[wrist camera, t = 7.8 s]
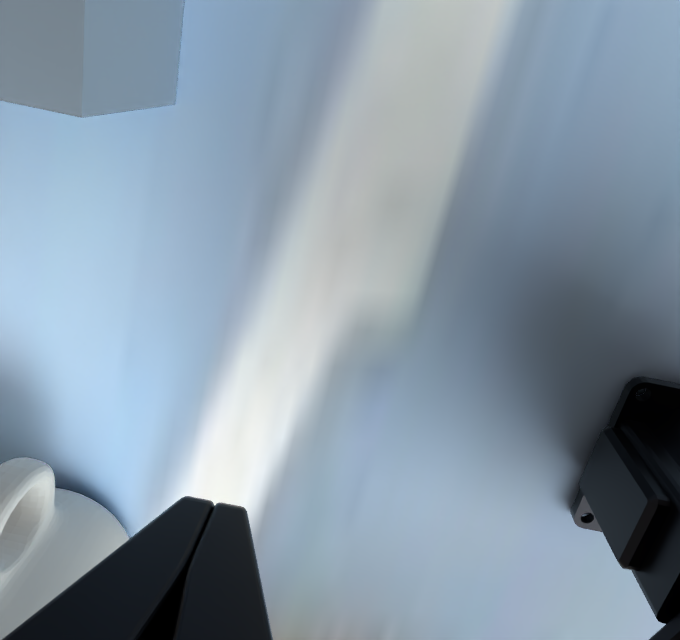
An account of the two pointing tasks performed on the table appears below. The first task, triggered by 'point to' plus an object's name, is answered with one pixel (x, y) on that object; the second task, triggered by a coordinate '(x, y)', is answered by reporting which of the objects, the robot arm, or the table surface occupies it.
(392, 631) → the table surface
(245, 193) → the table surface
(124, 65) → the block
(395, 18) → the table surface
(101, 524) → the cup
